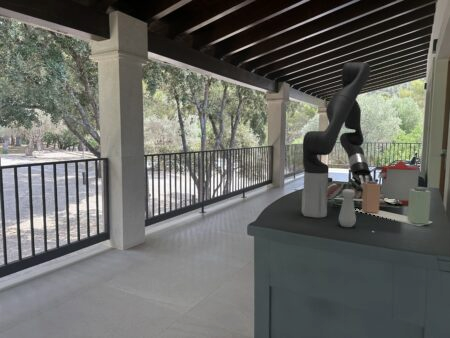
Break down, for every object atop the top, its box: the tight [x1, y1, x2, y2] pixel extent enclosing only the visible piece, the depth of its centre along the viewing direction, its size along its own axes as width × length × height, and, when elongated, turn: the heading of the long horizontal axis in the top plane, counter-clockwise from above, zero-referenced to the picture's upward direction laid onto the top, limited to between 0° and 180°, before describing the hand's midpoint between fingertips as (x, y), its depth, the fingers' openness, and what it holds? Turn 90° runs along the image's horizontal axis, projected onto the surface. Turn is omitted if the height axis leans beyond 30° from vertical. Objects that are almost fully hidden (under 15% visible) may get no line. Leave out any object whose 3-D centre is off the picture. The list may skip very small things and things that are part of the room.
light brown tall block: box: [361, 181, 382, 212], centre depth 140 cm, size 5×5×12 cm
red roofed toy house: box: [377, 160, 420, 206], centre depth 161 cm, size 16×17×20 cm
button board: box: [355, 208, 433, 227], centre depth 136 cm, size 28×9×1 cm, turn 33°
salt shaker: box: [338, 188, 357, 228], centre depth 121 cm, size 6×6×13 cm
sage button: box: [407, 187, 432, 225], centre depth 124 cm, size 5×5×12 cm
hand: (367, 198), depth 144 cm, fingers closed
